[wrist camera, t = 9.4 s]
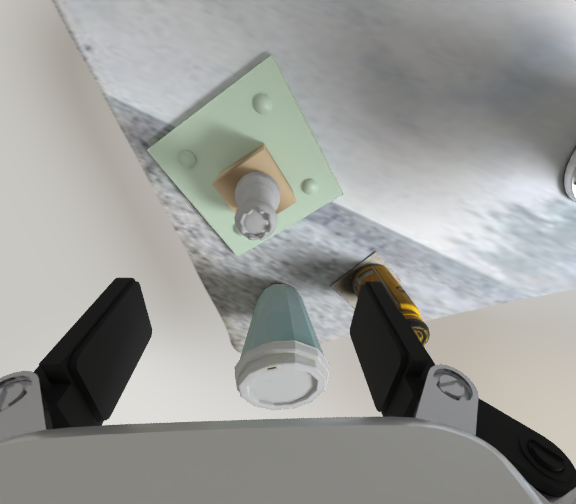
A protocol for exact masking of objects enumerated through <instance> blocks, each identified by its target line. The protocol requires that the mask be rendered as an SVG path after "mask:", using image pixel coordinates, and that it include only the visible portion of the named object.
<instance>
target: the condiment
mask: <svg viewBox="0 0 576 504" xmlns="http://www.w3.org/2000/svg"><path fill="white" fill-rule="evenodd" d="M366 281H379V282H381V283H382V285H383V287H384V288H385V290H386V291H387V293H388V294H389V296H390V298H391V299H392V301H393V302H394V304H395V305H396V307H397V309H398V310H399V312H401V313H402V314H403V315H404V317H405V318H406V320H407V322H408V323H409V325H410V326H411V328H412V329H413V331H414V332H415V334H416V336H417V337H418V339H419V340H420V342H421V343H422V345H423V346H424V345H425V344H426V342H427V341H428V339H429V329H428V327H427V325H426V324H425V323H424V322H423V320H422V318H421V317H420V312H419V310H418V308H417V307H416V306H415V304H414V303H413V302H412V300H411V299H410V298H409V296H408V295H407V294H406V293H405V291H404V290H403V289H402V287H401V286H400V285H399V283H398V282H399V281H401V280H400V279H399V278H398V277H397V276H396V275H395V273H394V272H393V271H392V270H391V269H390V268H389V266H388V265H387V264H386V263H385V262H384V261H383V259H382V258H381V257H380V256H379V255H378V254H377V252H375V253H374V254H373V255H371V256H370V257H368V258H367V259H365V260H364V261H363V262H361V263H360V264H358V265H357V266H356V267H355V268H353V269H352V270H351V271H350V272H349V273H347V274H346V275H344V276H343V277H341V278H340V279H339V280H338V281H337V282H336V283H334V284H333V285H331V287H332V288H333V289H334V290H335V291H336V292H337V293H338V294H340V295H341V296H342V297H343V298H344V299H345V300H346V301H347V302H348V303H349V304H350V305H351V306H352V307H353V308H354V309H355V307H356V303H357V299H358V295H359V291H360V287H361V285H362V284H365V282H366Z"/></svg>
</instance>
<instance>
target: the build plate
mask: <svg viewBox="0 0 576 504" xmlns="http://www.w3.org/2000/svg"><path fill="white" fill-rule="evenodd" d="M263 143H264V144H265V146H266V147H267V149H268V150H269V152H270V154H271V155H272V157H273V159H274V160H275V162H276V163H277V165H278V167H279V168H280V170H281V172H282V173H283V175H284V176H285V178H286V180H287V181H288V183H289V185H290V186H291V188H292V190H293V193H294V196H295V199H296V203H294V204H293V205H291V206H290V207H288V208H286V209H285V210H283V211H281V212H280V213H278V214H277V222H278V223H277V226H276V228H275V231H274V232H273V233H272V234H271V235H270V236H268V237H266V238H265V239H263V240H261V241H260V239H255V240H254V241H253V240H249V239H248V238H247V237H245V236H244V235H242V234H241V233H240V232H239V231H238V229H237V227H236V226H235V219H234V217H235V213H234V212H233V211H232V209H231V208H230V207H229V206H228V204H227V203H226V202H225V200H224V199H223V198H222V197H221V195H220V194H219V193H218V191H217V190H216V189H215V188H214V186H213V185H212V184H213V182H214V181H215V179H216V178H217V176H218V175H219V173H220V172H222V171H223V170H225V169H226V168H228V167H229V166H231V165H232V164H234V163H235V162H236V161H238V160H239V159H241V158H242V157H244V156H245V155H247V154H248V153H250V152H251V151H252V150H254V149H255V148H257V147H258V146H260V145H261V144H263ZM147 151H148V153H149V154H150V155H151V156H152V157H153V158H154V160H155V161H156V162H157V163H158V164H159V165H160V167H161V168H162V169H163V170H164V171H165V173H166V174H167V175H168V176H169V177H170V178H171V180H172V181H173V182H174V183H175V184H176V185H177V187H178V188H179V189H180V190H181V191H182V192H183V194H184V195H185V196H186V197H187V198H188V199H189V201H190V202H191V203H192V204H193V205H194V206H195V208H196V209H197V210H198V211H199V212H200V213H201V215H202V216H203V217H204V218H205V219H206V220H207V222H208V223H209V224H210V225H211V226H212V227H213V229H214V230H215V231H216V232H217V233H218V234H219V236H220V237H221V238H222V239H223V240H224V241H225V243H226V244H227V245H228V246H229V247H230V248H231V250H232V251H233V252H234V253H235V254H236V256H237V257H239V256H240V255H242V254H244V253H245V252H247V251H249V250H250V249H252V248H254V247H255V246H257V245H259V244H260V243H262V242H264V241H265V240H267V239H269V238H270V237H272V236H274V235H275V234H277V233H279V232H280V231H282V230H284V229H286V228H287V227H289V226H291V225H292V224H294V223H296V222H297V221H299V220H301V219H302V218H304V217H306V216H307V215H309V214H311V213H312V212H314V211H316V210H317V209H319V208H321V207H322V206H324V205H326V204H327V203H329V202H331V201H332V200H334V199H336V198H337V197H339V196H341V195H343V192H342V190H341V188H340V186H339V184H338V182H337V181H336V179H335V177H334V175H333V173H332V171H331V169H330V167H329V165H328V163H327V161H326V159H325V157H324V155H323V153H322V151H321V149H320V147H319V145H318V143H317V141H316V139H315V137H314V135H313V133H312V131H311V130H310V128H309V126H308V124H307V122H306V120H305V118H304V116H303V114H302V112H301V110H300V108H299V106H298V104H297V102H296V100H295V98H294V96H293V94H292V92H291V90H290V88H289V86H288V84H287V82H286V80H285V78H284V77H283V75H282V73H281V71H280V69H279V67H278V65H277V63H276V61H275V59H274V57H273V55H270V56H269V57H268V58H266V59H265V60H264V61H263V62H261V63H260V64H259V65H257V66H256V67H255V68H253V69H252V70H251V71H249V72H248V73H247V74H245V75H244V76H243V77H242V78H240V79H239V80H238V81H236V82H235V83H234V84H232V85H231V86H230V87H228V88H227V89H226V90H224V91H223V92H222V93H221V94H219V95H218V96H217V97H215V98H214V99H213V100H211V101H210V102H209V103H207V104H206V105H205V106H204V107H202V108H201V109H200V110H198V111H197V112H196V113H194V114H193V115H192V116H190V117H189V118H188V119H186V120H185V121H184V122H183V123H181V124H180V125H179V126H177V127H176V128H175V129H173V130H172V131H171V132H169V133H168V134H167V135H165V136H164V137H163V138H162V139H160V140H159V141H158V142H156V143H155V144H154V145H152V146H151V147H150V148H148V149H147Z"/></svg>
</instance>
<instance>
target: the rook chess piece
mask: <svg viewBox="0 0 576 504" xmlns="http://www.w3.org/2000/svg"><path fill="white" fill-rule="evenodd" d="M235 201H236V204H237V206H238V209H237V210H236V214H235V217H234V219H235V226H236V227H237V229H238V231H239V232H240V233H241V234H242V235H244V236H245V237H247V238H248V239H249V240H253V241H254V240H255V239H260V241H261V240H263V239H265V238H266V237H268V236H270V235H271V234H272V233H273V232H274V231H275V228H276V226H277V223H278V222H277V214H276V212H275V210H276V209H277V208H278V205H279V202H280V188H279V186H278V184H277V182H276V181H275V180H274V179H273V178H272V177H271V176H270V175H268V174H266V173H263V172H251V173H248V174H246V175H244V176H243V177H242V178H241V179H240V180H239V181H238V183H237V186H236V189H235Z"/></svg>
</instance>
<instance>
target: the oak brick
mask: <svg viewBox="0 0 576 504" xmlns="http://www.w3.org/2000/svg"><path fill="white" fill-rule="evenodd" d="M251 172H263V173H266V174H268V175H270V176H271V177H272V178H273V179H274V180H275V181H276V182H277V184H278V186H279V188H280V202H279V205H278V208H277V209H276V210H275V212H276V214H278V213H280V212H281V211H283V210H285V209H286V208H288V207H290V206H291V205H293V204H294V203H296V199H295V196H294V193H293V190H292V188H291V186H290V185H289V183H288V181H287V180H286V178H285V176H284V175H283V173H282V172H281V170H280V168H279V167H278V165H277V163H276V162H275V160H274V159H273V157H272V155H271V154H270V152H269V150H268V149H267V147H266V146H265V144H264V143H263V144H261V145H260V146H258V147H257V148H255V149H254V150H252V151H251V152H250V153H248V154H247V155H245V156H244V157H242V158H241V159H239V160H238V161H236V162H235V163H234V164H232V165H231V166H229V167H228V168H226V169H225V170H223V171H222V172H220V173H219V175H218V176H217V178H216V179H215V181H214V182H213V184H212V185H213V186H214V188H215V189H216V190H217V191H218V193H219V194H220V195H221V197H222V198H223V199H224V200H225V202H226V203H227V204H228V206H229V207H230V208H231V209H232V211H233V212H234V213H235V214H236V210H237V209H238V206H237V204H236V201H235V189H236V186H237V183H238V181H239V180H240V179H241V178H242V177H243V176H244V175H246V174H248V173H251Z"/></svg>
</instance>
